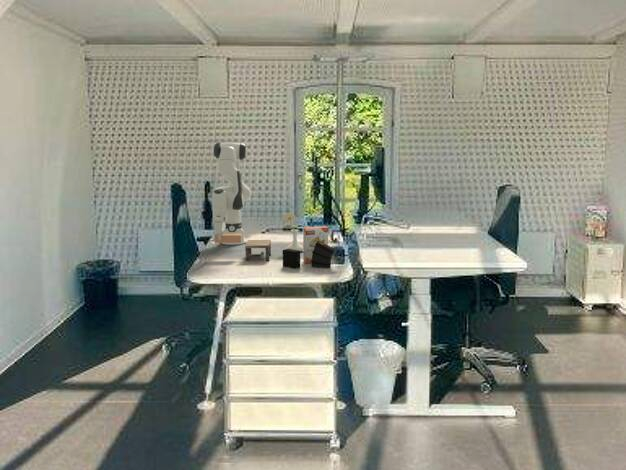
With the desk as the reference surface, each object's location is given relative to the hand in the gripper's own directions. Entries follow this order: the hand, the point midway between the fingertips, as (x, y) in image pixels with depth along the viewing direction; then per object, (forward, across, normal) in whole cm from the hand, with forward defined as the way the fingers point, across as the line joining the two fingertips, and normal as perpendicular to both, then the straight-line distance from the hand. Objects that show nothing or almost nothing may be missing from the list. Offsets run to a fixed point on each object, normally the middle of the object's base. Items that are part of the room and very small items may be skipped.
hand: (220, 239), depth 416 cm
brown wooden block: (+2, 0, +4) cm, 5 cm away
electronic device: (+12, +26, +44) cm, 52 cm away
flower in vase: (+12, -19, +44) cm, 49 cm away
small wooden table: (+12, 0, +23) cm, 26 cm away
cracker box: (+12, +13, +58) cm, 60 cm away
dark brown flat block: (+12, +27, +62) cm, 69 cm away
